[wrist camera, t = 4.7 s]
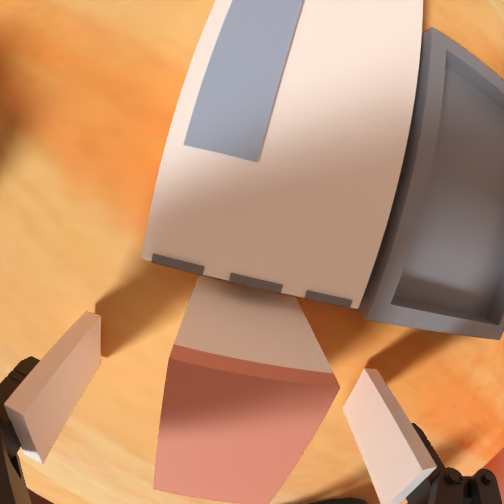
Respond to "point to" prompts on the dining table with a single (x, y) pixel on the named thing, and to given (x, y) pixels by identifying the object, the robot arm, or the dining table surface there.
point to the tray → (446, 204)
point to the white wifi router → (288, 145)
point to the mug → (342, 501)
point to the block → (240, 395)
